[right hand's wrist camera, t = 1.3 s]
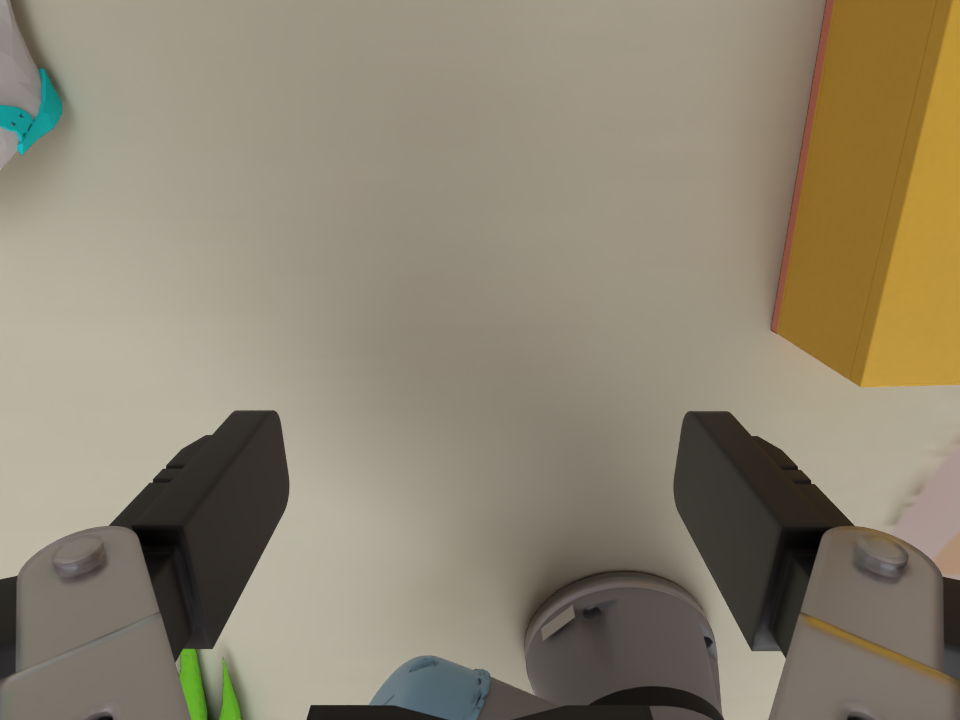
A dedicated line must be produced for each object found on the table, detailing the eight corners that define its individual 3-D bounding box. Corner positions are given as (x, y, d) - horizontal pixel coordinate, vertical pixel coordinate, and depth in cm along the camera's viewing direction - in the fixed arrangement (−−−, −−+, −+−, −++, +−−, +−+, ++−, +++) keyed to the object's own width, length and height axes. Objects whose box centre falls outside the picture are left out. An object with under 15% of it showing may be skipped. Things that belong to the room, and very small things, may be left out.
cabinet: (832, -38, 30) (979, -113, 21) (1036, -45, 29) (1269, -123, 21) (770, 330, 37) (859, 388, 28) (933, 326, 37) (1072, 382, 28)
